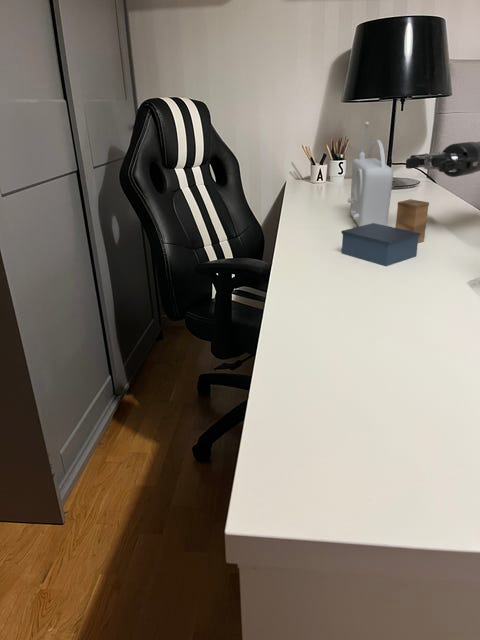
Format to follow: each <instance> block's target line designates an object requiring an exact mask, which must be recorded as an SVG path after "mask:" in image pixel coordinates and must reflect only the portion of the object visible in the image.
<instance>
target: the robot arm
mask: <svg viewBox="0 0 480 640" xmlns="http://www.w3.org/2000/svg"><path fill="white" fill-rule="evenodd" d="M430 164H431V166H430ZM419 168H421V169H422V168H423V169H424V170H428V171H429V170H436V171H439V173H443V174H444V175H446V176H447V177H450V178H458V177H463V176H467V175H473V174H475V173H478V172H480V141H467V142H458V143H452V144H449V145H448V146H446V147H445V148H444V149H443V150H442V152H437V153H421V154H412V155H410V157H409V158H406V159H405V169H407V170H409V169H410V170H411V169H419Z"/></svg>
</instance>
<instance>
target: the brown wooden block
mask: <svg viewBox="0 0 480 640" xmlns="http://www.w3.org/2000/svg"><path fill="white" fill-rule="evenodd" d="M429 207H430V202H429V201H423V200H416V199H412V198H411V199H410V198H409V199H406V200H401V201H397V208H396V209H397V210H396V220H395V228H399V229H403V230H408V231H413V232H417V233H420V236H419V238H418V244H420V243H423V242H424V241H425V237H426V236H425V235H426V229H427V228H426V227H427V222H428V221H427V220H428V212H429Z"/></svg>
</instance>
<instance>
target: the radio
mask: <svg viewBox="0 0 480 640" xmlns="http://www.w3.org/2000/svg"><path fill="white" fill-rule="evenodd" d="M369 126H370V122H369V121H366V122H365V124H364V131H363V132H364V133H363V139H362V145H361V150H360V153H358V158H354V160H353V161H352V164H351V182H350V183H351V184H350V185H351V187H350V189H351V190H350V197H348V198H347V203H348V204H350V208H349V210H350V211H349V212H350V215H351V217H352V218H353V220H354V222H355V223H356V225H357V227H359V226H363V225H367V224H371V223H376V224H380V225H385V226H388V221H389V213H390V205H391V196H392V187H393V180H394V170H393V168H392V167H390V166H389V165H387V164H386V156H385V149H384V145H383V142H382V141H381V140H380V139H374V140H373V141H372V143H371V145H370V148H369V151H368V155H367V158H366V153H365V152H364V151H365V147H366V146H365V145H366V139H367V134H368V127H369ZM376 144H377V145H378V148H379V153H380V160H379V159H378V158H376V157H372V156H373V153H374V152H373V151H374V148H375V146H376Z"/></svg>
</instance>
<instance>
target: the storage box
mask: <svg viewBox="0 0 480 640" xmlns="http://www.w3.org/2000/svg"><path fill="white" fill-rule="evenodd" d="M341 234H342V242H341V243H342V244H341V254H343V255H346V256H350V257H354V258H357V259H360V260H364V261H368V262H371V263H375V264H378V265H381V266H385V267H387V266H390V265H394V264H396V263H400V262H403V261H405V260H409V259H412V258H415V257H417V254H418V253H417V252H418V245H419V243H418V238H419V236H420V233H417V232H413V231H408V230H403V229H399V228H396V227H394V226H390V225H387V226H385V225H380V224H376V223H371V224H367V225H363V226H356V227H352V228H347V229H343V230H341Z"/></svg>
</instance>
